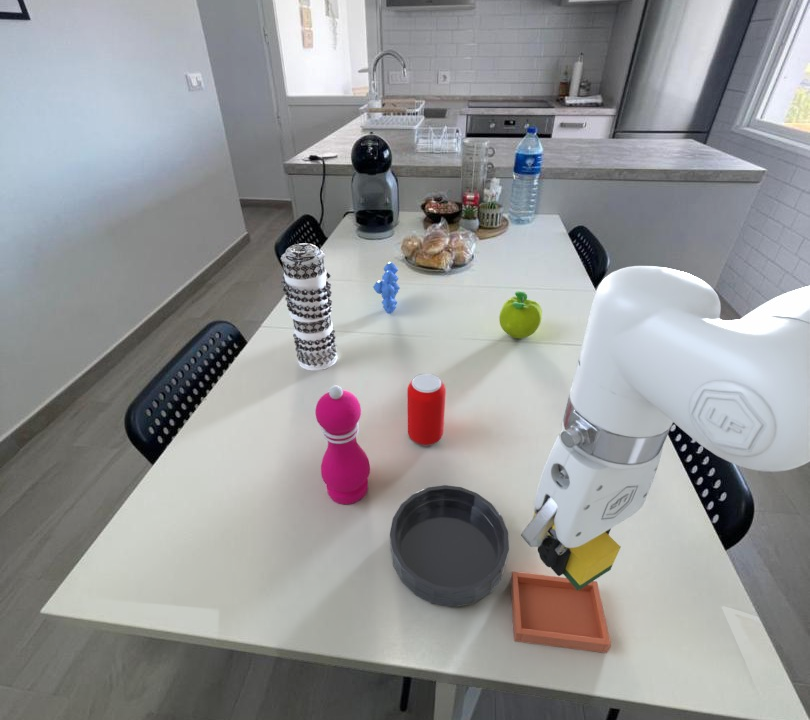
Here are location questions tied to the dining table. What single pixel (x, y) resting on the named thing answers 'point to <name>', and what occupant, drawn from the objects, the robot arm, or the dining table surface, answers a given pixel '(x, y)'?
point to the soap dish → (558, 613)
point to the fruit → (520, 316)
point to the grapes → (388, 287)
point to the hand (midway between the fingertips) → (569, 550)
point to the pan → (449, 545)
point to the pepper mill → (342, 446)
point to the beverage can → (425, 409)
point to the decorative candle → (309, 306)
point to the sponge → (590, 560)
